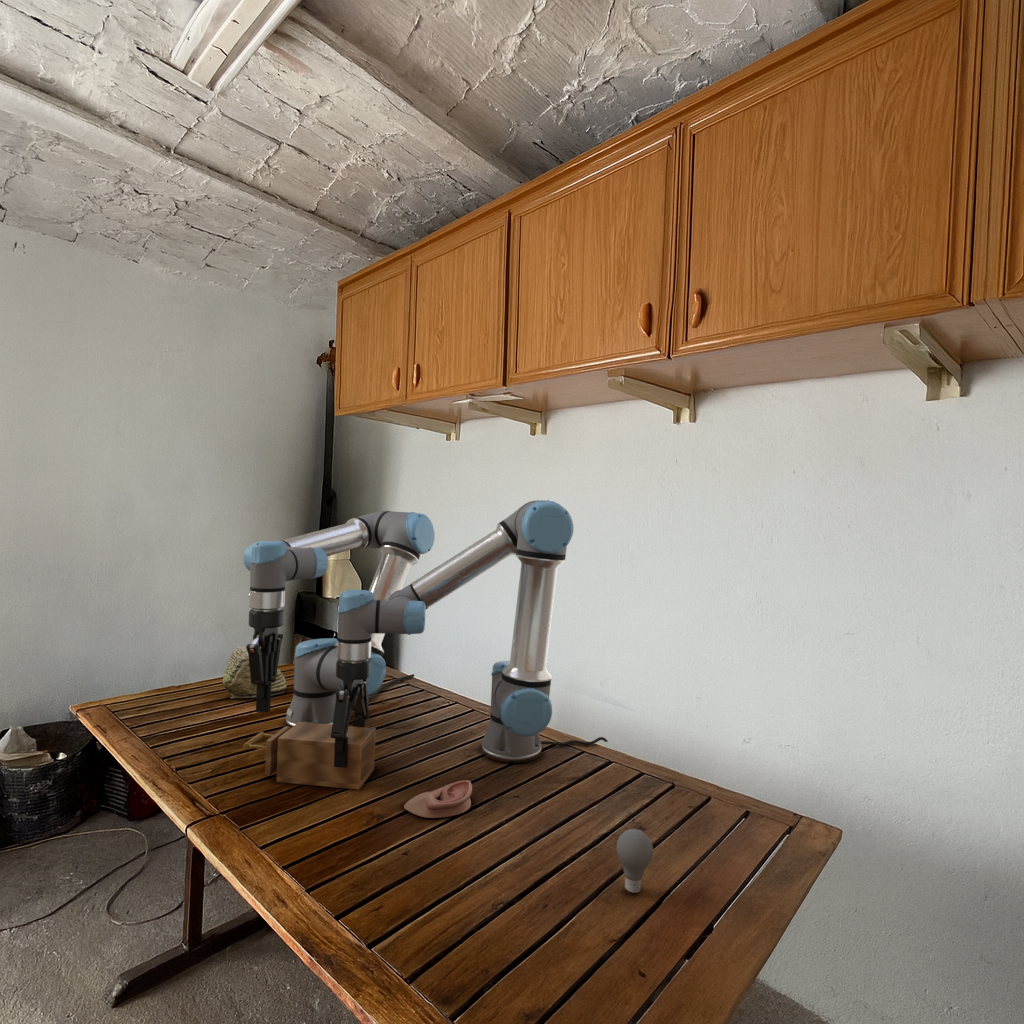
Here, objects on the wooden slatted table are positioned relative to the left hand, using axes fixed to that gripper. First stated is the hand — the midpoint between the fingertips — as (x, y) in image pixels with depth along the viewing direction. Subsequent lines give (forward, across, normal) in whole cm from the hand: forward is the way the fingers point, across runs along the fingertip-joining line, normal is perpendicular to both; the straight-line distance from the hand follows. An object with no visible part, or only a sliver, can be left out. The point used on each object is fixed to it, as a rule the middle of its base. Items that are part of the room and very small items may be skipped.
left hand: (263, 711), depth 145 cm
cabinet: (+14, 0, +16) cm, 21 cm away
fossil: (+14, -50, -28) cm, 59 cm away
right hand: (+9, 0, +21) cm, 23 cm away
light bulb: (+14, +32, +82) cm, 89 cm away
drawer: (+13, 0, +9) cm, 16 cm away
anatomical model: (+14, +9, +44) cm, 47 cm away
